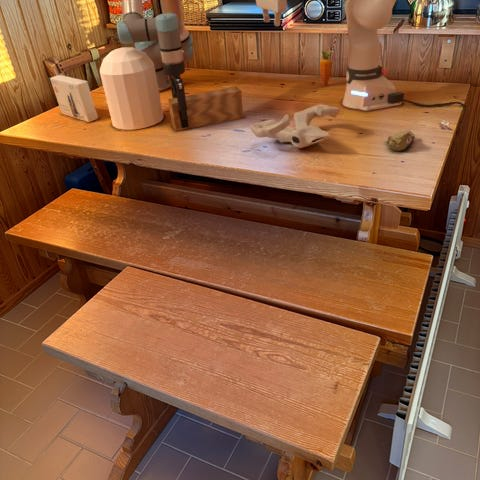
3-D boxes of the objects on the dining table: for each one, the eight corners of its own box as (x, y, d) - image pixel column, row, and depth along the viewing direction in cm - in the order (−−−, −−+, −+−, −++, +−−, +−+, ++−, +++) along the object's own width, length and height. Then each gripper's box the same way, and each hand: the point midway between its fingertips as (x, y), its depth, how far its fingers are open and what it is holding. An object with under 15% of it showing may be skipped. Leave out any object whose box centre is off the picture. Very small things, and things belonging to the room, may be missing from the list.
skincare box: (60, 114, 202) (49, 77, 193) (71, 110, 206) (60, 74, 196) (87, 122, 190) (77, 83, 181) (98, 118, 194) (88, 80, 184)
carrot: (331, 83, 206) (332, 48, 198) (329, 87, 202) (330, 51, 194) (320, 83, 208) (321, 48, 199) (318, 87, 204) (319, 51, 195)
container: (119, 134, 177) (100, 57, 161) (107, 118, 193) (89, 47, 177) (170, 121, 183) (157, 47, 167) (155, 107, 199) (142, 38, 184)
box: (176, 131, 175) (171, 103, 169) (172, 126, 180) (168, 99, 174) (243, 117, 181) (241, 90, 175) (238, 112, 186) (236, 86, 180)
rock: (408, 140, 153) (379, 139, 152) (414, 122, 149) (384, 120, 148) (421, 154, 144) (391, 153, 143) (428, 135, 140) (396, 133, 139)
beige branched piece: (248, 155, 150) (245, 120, 144) (261, 127, 172) (259, 95, 165) (336, 156, 144) (338, 119, 138) (338, 126, 166) (340, 93, 159)
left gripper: (189, 66, 158) (198, 130, 171) (177, 55, 173) (186, 115, 186) (168, 69, 156) (179, 134, 169) (157, 58, 171) (168, 118, 184)
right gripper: (291, -20, 149) (292, 26, 157) (267, -24, 165) (269, 18, 173) (273, -17, 148) (274, 29, 155) (251, -22, 164) (253, 21, 172)
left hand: (183, 124), depth 177 cm, fingers closed on box, 6 cm apart
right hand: (271, 23), depth 164 cm, fingers open, 8 cm apart
